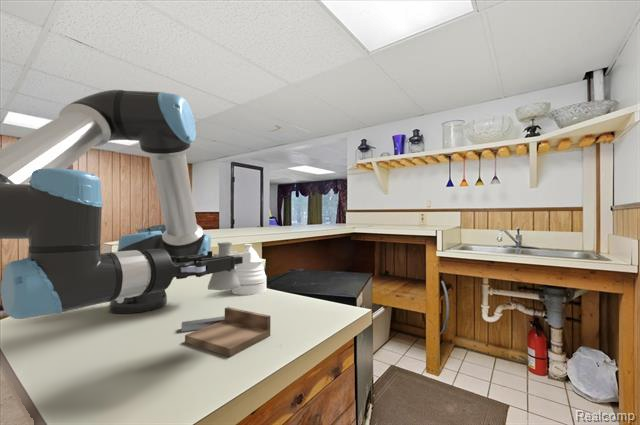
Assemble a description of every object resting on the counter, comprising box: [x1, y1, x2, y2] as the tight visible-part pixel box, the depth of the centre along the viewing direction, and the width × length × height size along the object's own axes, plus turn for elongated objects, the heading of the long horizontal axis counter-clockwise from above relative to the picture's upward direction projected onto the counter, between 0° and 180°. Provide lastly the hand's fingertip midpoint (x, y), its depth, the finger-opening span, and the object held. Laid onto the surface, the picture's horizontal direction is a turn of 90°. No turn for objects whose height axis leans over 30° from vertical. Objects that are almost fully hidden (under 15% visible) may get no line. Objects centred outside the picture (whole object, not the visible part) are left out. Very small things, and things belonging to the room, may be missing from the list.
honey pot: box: [231, 243, 267, 296], centre depth 110 cm, size 13×13×18 cm
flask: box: [207, 241, 241, 291], centre depth 63 cm, size 7×7×10 cm
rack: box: [184, 306, 271, 358], centre depth 64 cm, size 14×12×4 cm
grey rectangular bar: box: [180, 315, 225, 333], centre depth 71 cm, size 2×10×2 cm, turn 114°
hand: (242, 257), depth 68 cm, fingers closed on flask, 3 cm apart
